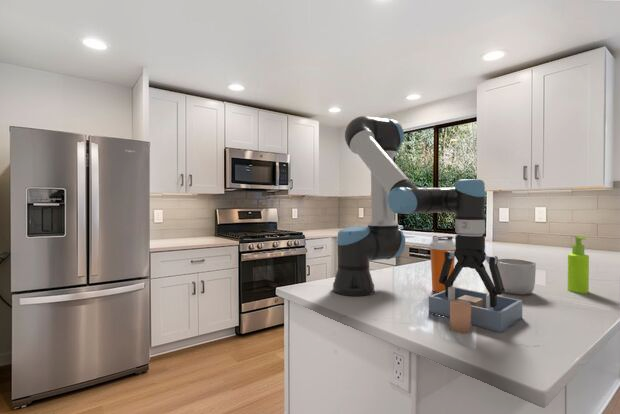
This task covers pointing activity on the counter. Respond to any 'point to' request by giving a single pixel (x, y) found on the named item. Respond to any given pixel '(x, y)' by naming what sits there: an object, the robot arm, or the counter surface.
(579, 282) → the soap dispenser
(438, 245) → the shaker bottle
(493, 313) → the tote
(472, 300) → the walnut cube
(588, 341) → the counter surface
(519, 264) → the planter
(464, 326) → the peach capsule pill
